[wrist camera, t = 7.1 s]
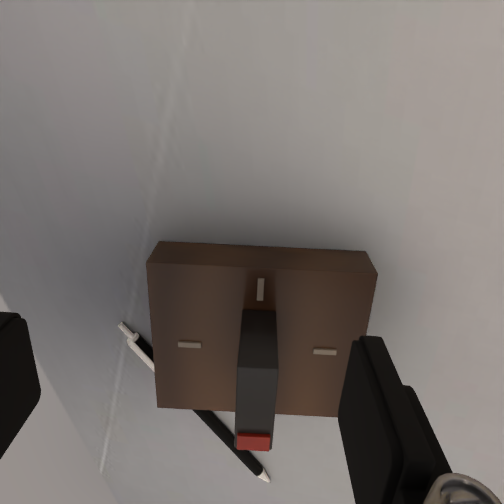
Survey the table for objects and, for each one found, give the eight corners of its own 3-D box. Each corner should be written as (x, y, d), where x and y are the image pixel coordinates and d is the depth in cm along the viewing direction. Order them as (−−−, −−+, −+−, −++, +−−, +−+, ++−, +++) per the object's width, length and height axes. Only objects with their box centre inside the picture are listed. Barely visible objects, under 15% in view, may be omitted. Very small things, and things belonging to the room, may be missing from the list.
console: (167, 376, 30) (156, 409, 27) (158, 240, 25) (144, 263, 22) (342, 386, 30) (350, 420, 27) (366, 251, 25) (379, 274, 22)
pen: (126, 317, 28) (121, 327, 27) (274, 475, 34) (274, 488, 33) (117, 323, 28) (111, 332, 27) (265, 479, 35) (265, 492, 34)
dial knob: (242, 308, 24) (236, 370, 19) (276, 310, 24) (279, 372, 19) (239, 381, 26) (233, 452, 21) (270, 383, 26) (271, 454, 21)
